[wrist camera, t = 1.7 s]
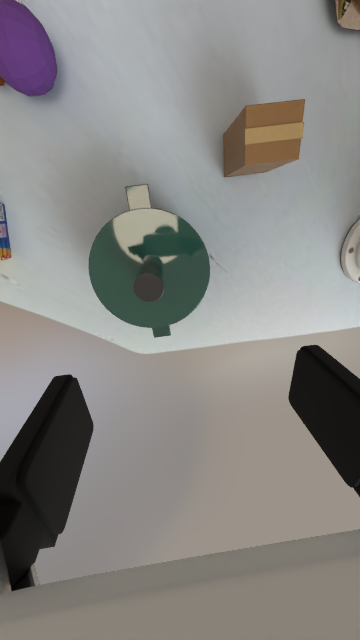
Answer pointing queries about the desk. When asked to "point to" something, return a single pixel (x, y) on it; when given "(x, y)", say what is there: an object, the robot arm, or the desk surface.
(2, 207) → the blue cardboard box
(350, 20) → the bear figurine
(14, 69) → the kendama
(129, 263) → the pot lid
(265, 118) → the package
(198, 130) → the desk surface
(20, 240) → the desk surface
